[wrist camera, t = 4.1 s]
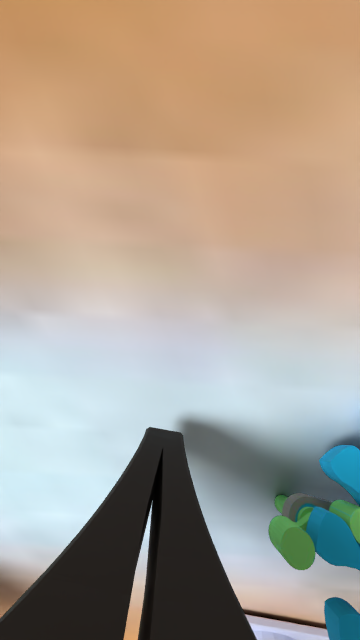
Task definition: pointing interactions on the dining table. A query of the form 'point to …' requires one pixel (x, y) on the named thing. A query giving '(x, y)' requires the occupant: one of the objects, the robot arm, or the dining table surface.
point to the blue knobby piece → (325, 533)
